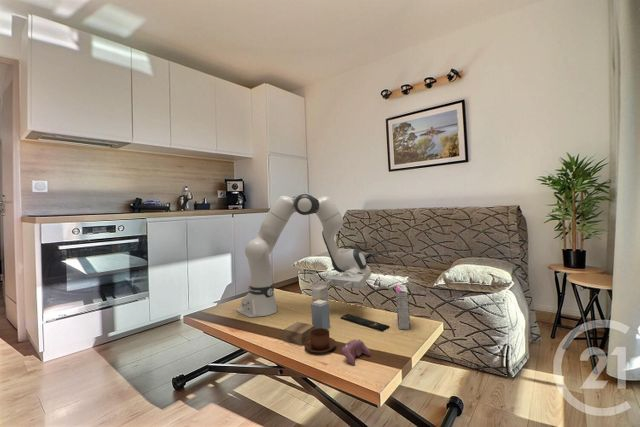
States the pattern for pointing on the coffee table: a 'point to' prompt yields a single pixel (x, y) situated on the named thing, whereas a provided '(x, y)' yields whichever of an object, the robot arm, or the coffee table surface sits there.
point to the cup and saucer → (319, 341)
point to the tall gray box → (320, 314)
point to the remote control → (365, 322)
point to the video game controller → (358, 347)
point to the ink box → (319, 292)
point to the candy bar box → (402, 307)
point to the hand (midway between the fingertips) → (335, 285)
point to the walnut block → (298, 333)
